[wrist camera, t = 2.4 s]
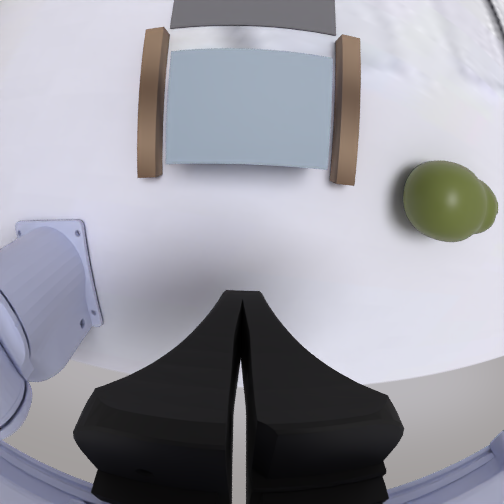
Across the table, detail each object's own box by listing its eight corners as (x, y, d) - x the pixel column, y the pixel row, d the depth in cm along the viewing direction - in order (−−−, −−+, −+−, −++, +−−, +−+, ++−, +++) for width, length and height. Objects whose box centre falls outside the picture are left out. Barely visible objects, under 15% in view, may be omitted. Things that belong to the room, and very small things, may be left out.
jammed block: (310, 164, 17) (327, 169, 13) (183, 159, 17) (165, 164, 13) (314, 74, 15) (332, 57, 11) (186, 69, 15) (171, 51, 11)
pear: (449, 157, 12) (515, 184, 14) (394, 149, 17) (470, 171, 19) (433, 253, 14) (502, 251, 16) (384, 226, 19) (460, 230, 21)
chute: (346, 182, 18) (354, 185, 16) (145, 175, 17) (137, 177, 16) (352, 45, 14) (359, 38, 13) (152, 36, 14) (145, 29, 12)
